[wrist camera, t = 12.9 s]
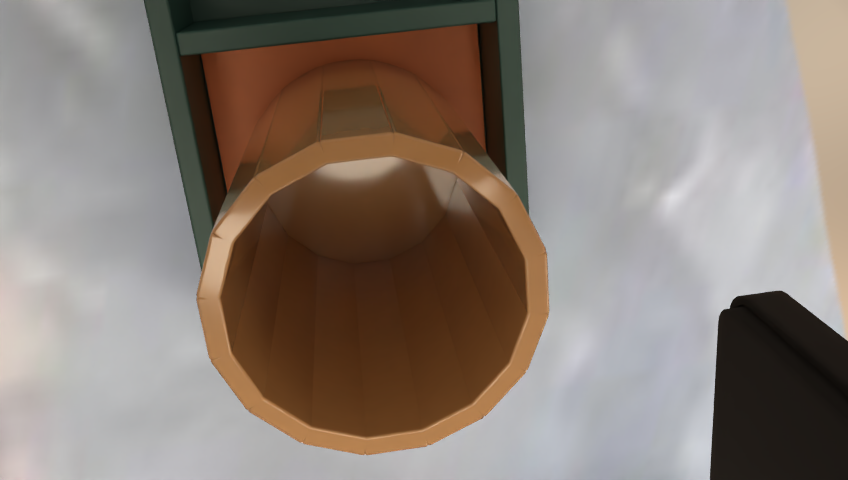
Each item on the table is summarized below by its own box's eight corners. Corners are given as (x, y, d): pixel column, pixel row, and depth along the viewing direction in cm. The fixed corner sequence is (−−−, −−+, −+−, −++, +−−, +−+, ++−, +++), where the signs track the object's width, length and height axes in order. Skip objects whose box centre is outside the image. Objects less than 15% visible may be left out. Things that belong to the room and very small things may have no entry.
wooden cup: (231, 72, 23) (164, 158, 14) (458, 47, 24) (541, 114, 14) (269, 281, 25) (234, 475, 16) (474, 254, 26) (554, 428, 17)
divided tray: (233, 311, 26) (220, 362, 23) (103, -337, 20) (59, -392, 17) (510, 274, 27) (534, 319, 24) (471, -365, 21) (497, -423, 17)
